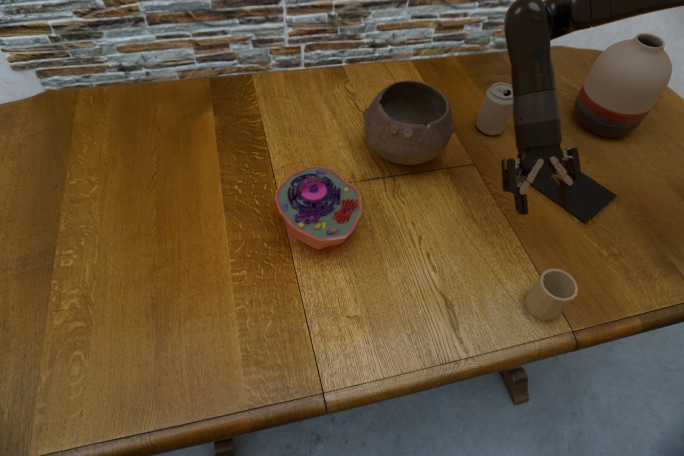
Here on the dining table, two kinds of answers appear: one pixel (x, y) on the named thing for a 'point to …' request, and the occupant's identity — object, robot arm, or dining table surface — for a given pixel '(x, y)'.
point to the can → (496, 109)
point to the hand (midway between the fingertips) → (544, 210)
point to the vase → (623, 86)
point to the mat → (576, 195)
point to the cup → (551, 294)
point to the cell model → (319, 206)
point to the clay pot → (408, 122)
